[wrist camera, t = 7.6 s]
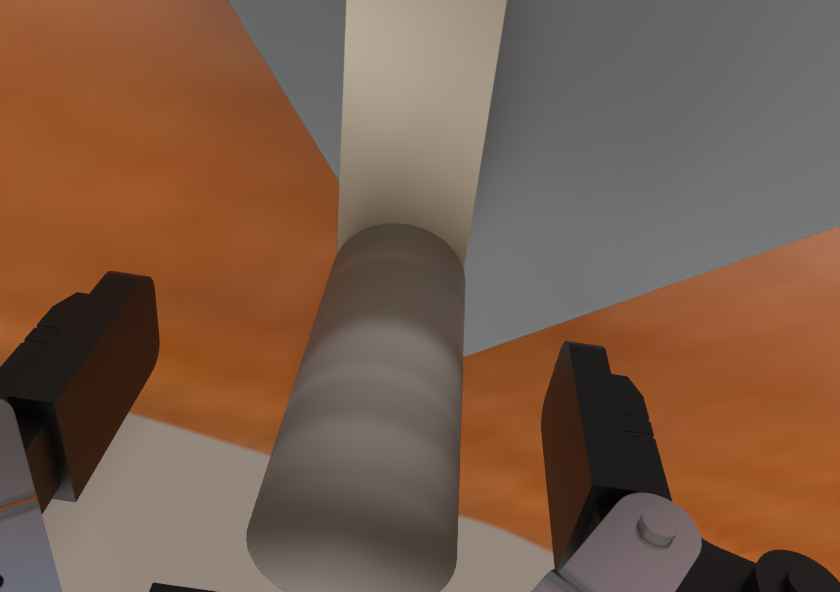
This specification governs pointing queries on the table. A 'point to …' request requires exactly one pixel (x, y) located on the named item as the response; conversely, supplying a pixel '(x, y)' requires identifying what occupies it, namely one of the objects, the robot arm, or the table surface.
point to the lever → (387, 315)
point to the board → (614, 142)
